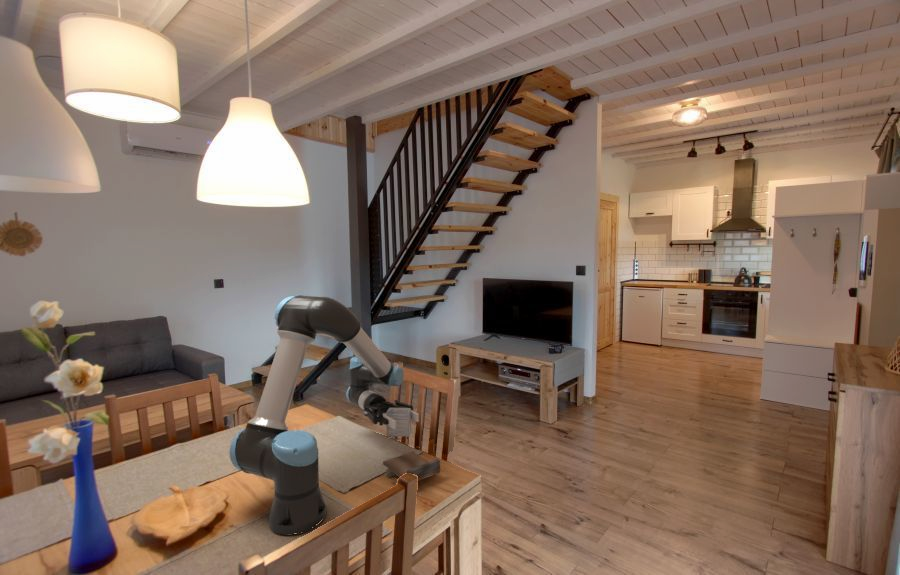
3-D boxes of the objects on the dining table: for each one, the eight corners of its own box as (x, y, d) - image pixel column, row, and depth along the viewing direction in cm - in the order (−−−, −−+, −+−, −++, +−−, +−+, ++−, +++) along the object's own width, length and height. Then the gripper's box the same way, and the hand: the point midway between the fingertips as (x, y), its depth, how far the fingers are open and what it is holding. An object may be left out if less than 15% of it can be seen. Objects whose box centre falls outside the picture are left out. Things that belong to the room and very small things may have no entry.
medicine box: (411, 431, 148) (411, 407, 147) (409, 437, 143) (409, 412, 142) (389, 431, 148) (388, 407, 147) (386, 436, 144) (386, 411, 143)
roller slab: (407, 493, 131) (407, 473, 130) (381, 472, 143) (381, 453, 143) (441, 478, 139) (441, 459, 138) (414, 460, 151) (413, 442, 151)
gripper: (396, 406, 166) (432, 423, 149) (346, 420, 152) (379, 441, 135) (396, 387, 165) (431, 403, 148) (346, 399, 152) (378, 418, 134)
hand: (406, 421), depth 142 cm, fingers closed on medicine box, 8 cm apart
